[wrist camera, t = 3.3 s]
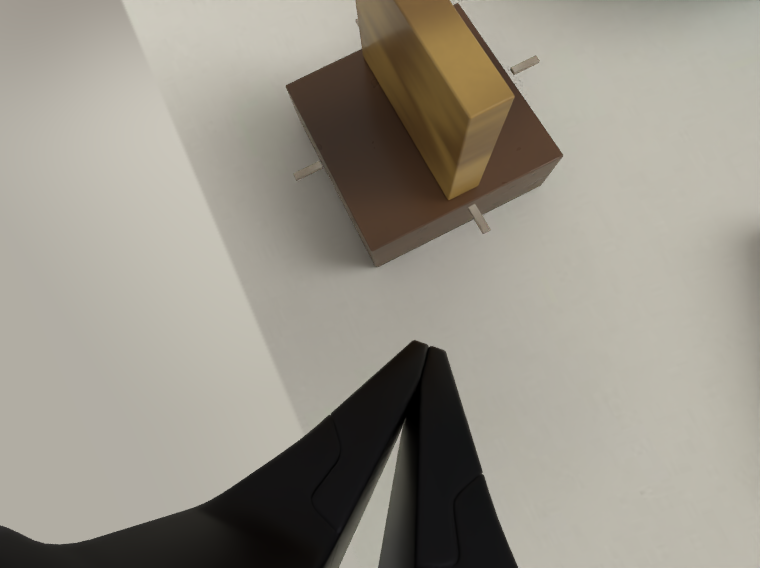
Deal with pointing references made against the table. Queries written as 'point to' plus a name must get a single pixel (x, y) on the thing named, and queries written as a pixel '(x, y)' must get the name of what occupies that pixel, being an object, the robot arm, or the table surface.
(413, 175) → the brown square slab
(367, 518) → the table surface
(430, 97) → the tan wooden flat block
